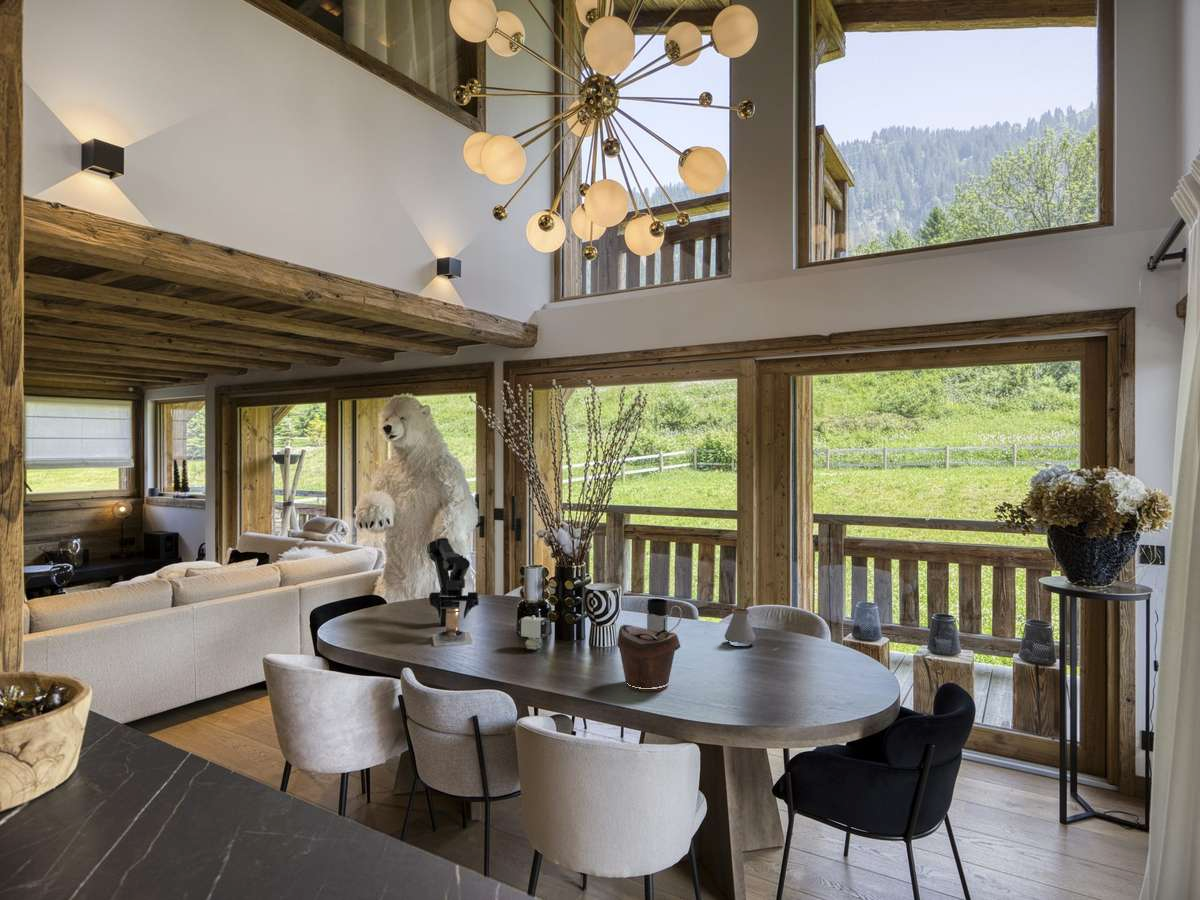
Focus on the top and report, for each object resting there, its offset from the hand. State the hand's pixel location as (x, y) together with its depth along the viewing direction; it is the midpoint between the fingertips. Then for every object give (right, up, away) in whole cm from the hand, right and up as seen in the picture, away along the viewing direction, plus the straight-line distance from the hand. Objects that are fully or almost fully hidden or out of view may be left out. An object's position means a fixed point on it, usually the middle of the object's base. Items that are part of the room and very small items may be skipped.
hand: (452, 617), depth 263 cm
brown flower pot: (+71, -8, -51) cm, 88 cm away
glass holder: (+81, -9, +1) cm, 82 cm away
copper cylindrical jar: (0, -7, 0) cm, 7 cm away
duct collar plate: (0, -8, 0) cm, 8 cm away
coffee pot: (+112, -9, 0) cm, 112 cm away
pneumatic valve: (+32, -9, -11) cm, 35 cm away
